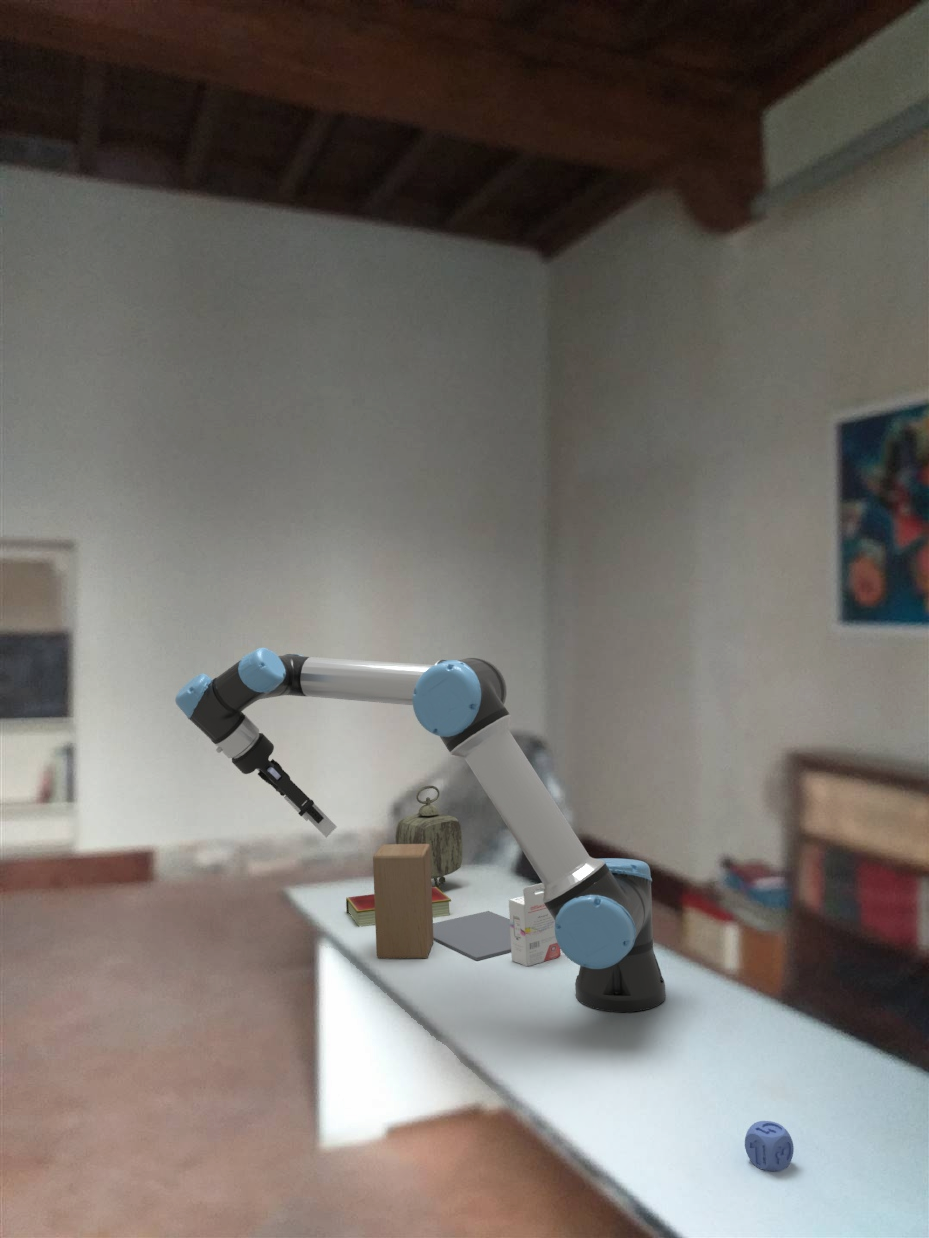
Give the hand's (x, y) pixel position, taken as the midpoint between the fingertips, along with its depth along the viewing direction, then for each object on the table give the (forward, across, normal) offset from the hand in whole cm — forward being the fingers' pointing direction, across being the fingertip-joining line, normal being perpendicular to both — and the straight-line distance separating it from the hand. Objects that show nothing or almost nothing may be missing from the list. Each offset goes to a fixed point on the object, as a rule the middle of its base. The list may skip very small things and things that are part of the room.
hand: (321, 823), depth 193 cm
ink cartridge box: (+44, +18, +10) cm, 48 cm away
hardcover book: (+38, -24, -1) cm, 44 cm away
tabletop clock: (+47, -38, +9) cm, 61 cm away
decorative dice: (+35, +94, +6) cm, 100 cm away
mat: (+42, 0, +8) cm, 43 cm away
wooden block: (+31, 0, -5) cm, 32 cm away
